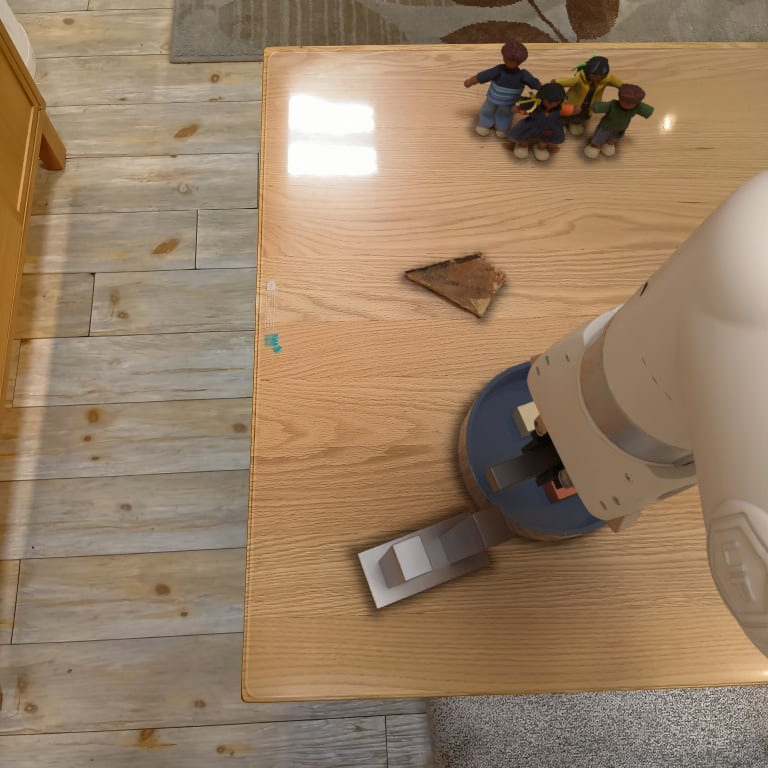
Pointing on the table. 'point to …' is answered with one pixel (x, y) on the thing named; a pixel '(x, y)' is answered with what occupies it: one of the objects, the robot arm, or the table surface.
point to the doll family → (556, 104)
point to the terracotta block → (558, 492)
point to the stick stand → (432, 555)
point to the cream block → (525, 418)
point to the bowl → (503, 442)
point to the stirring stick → (522, 468)
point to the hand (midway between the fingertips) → (548, 460)
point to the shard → (462, 280)
